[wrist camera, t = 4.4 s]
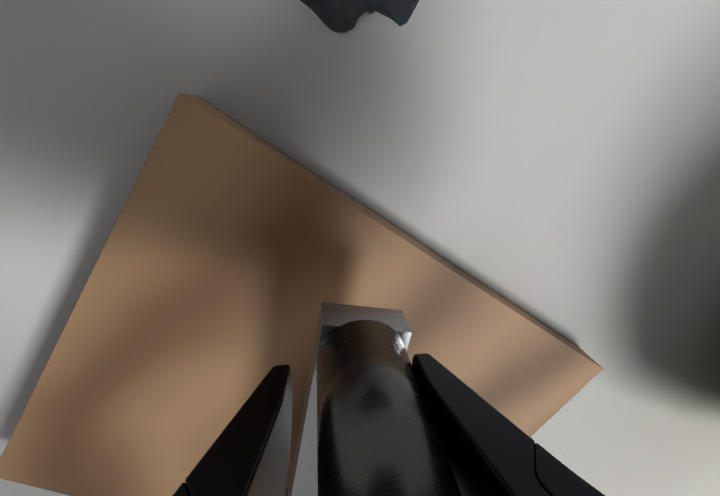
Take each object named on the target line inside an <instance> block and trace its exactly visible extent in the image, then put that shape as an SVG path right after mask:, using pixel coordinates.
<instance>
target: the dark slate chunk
mask: <svg viewBox="0 0 720 496" xmlns="http://www.w3.org/2000/svg"><path fill="white" fill-rule="evenodd" d="M300 1H302V2H303V3H304V4H306V5H307V6H308V7H309V8H310V9H312V10H313V11H314V13H315V14H316V15H317V16H318V17H319V18H320V19H321V20H322V21H323V23H324V24H325V25H326V26H327V27H329V28H330V29H331V30H332V31H335V32H346V31H349V30H351V29H352V28H353V27H354V26H355V24H356V22H357V20H358V18H359V17H360V16H361V15H362V14H363V13H365V12H369V13H373V12H375V11H377V12H379V13H381V14H383V15H385V16H387V17H389V18H391V19H392V20H394V21H395V22H396V23H397V24H398V25H400V26H401V25H403V24H405V23H407V21H408V20H409V18H410V16H411V14H412V12H413V10H414V9H415V7H416V5H417V3H418V1H419V0H300Z"/></svg>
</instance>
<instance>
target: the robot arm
mask: <svg viewBox="0 0 720 496" xmlns="http://www.w3.org/2000/svg"><path fill="white" fill-rule="evenodd" d="M412 366H413V369H414V372H415V374H416V377H417V380H418V382H419V385H420V387H421V390H422V393H423V395H424V398H425V400H426V403H427V406H428V408H429V411H430V414H431V416H432V419H433V421H434V424H435V427H436V429H437V432H438V434H439V437H440V440H441V442H442V445H443V448H444V450H445V453H446V455H447V458H448V461H449V463H450V466H451V469H452V471H453V474H454V476H455V479H456V482H457V484H458V487H459V489H460V492H461V495H462V496H605V495H604V494H602V493H601V492H599V491H598V490H597V489H595V488H594V487H593V486H591V485H590V484H589V483H587V482H586V481H585V480H583V479H582V478H580V477H579V476H578V475H576V474H575V473H574V472H573V471H571V470H570V469H569V468H568V467H566V466H565V465H564V464H562V463H561V462H560V461H559V460H557V459H556V458H555V457H554V456H552V455H551V454H550V453H549V452H548V451H546V450H545V449H544V448H543V447H541V446H540V445H539V444H538V443H535V442H534V440H533V439H532V438H530V437H529V436H528V435H527V434H526V433H524V432H523V431H522V430H521V429H520V428H518V427H517V426H516V425H515V424H513V423H512V422H511V421H510V420H509V419H507V418H506V417H505V416H504V415H503V414H501V413H500V412H499V411H498V410H497V409H495V408H494V407H493V406H492V405H490V404H489V403H488V402H487V401H486V400H484V399H483V398H482V397H481V396H480V395H478V394H477V393H476V392H475V391H473V390H472V389H471V388H470V387H469V386H467V385H466V384H465V383H464V382H463V381H461V380H460V379H459V378H458V377H457V376H455V375H454V374H453V373H452V372H450V371H449V370H448V369H447V368H446V367H444V366H443V365H442V364H441V363H440V362H438V361H437V360H436V359H435V358H434V357H432V356H431V355H430V354H428V353H422V354H415V355H414V356H413V358H412ZM292 406H293V387H292V378H291V369H290V366H289V365H288V364H286V365H275V366H273V367H272V368H271V370H270V371H269V372H268V374H267V375H266V376H265V377H264V379H263V380H262V381H261V383H260V384H259V385H258V386H257V388H256V389H255V390H254V392H253V393H252V394H251V395H250V397H249V398H248V399H247V401H246V402H245V403H244V404H243V406H242V407H241V408H240V410H239V411H238V412H237V413H236V415H235V416H234V417H233V419H232V420H231V421H230V422H229V424H228V425H227V426H226V428H225V429H224V430H223V431H222V433H221V434H220V435H219V437H218V438H217V439H216V440H215V442H214V443H213V444H212V446H211V447H210V448H209V449H208V451H207V452H206V453H205V455H204V456H203V457H202V458H201V460H200V461H199V462H198V464H197V465H196V466H195V467H194V469H193V470H192V471H191V473H190V474H189V475H188V476H187V478H186V479H185V482H186V483H185V482H183V483H182V484H181V485H180V486H179V488H178V489H177V490H176V492H175V493H174V494H173V495H172V496H284V494H285V488H286V481H287V475H288V469H289V461H290V451H291V430H292Z"/></svg>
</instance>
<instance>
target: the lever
mask: <svg viewBox="0 0 720 496" xmlns="http://www.w3.org/2000/svg"><path fill="white" fill-rule="evenodd" d="M411 334H412V332H411V330H410V327H409V325H408V323H407V321H406V318H405V316H404V314H403V311H402V310H395V309H385V308H376V307H366V306H356V305H347V304H337V303H327V302H322V303H321V308H320V314H319V320H318V325H317V331H316V337H315V343H314V348H313V354H312V360H311V365H310V371H309V377H308V383H307V388H306V394H305V400H304V405H303V411H302V417H301V422H300V428H299V434H298V440H297V445H296V451H295V457H294V462H293V468H292V474H291V480H290V485H289V491H288V496H462V495H461V492H460V489H459V487H458V484H457V482H456V479H455V476H454V474H453V471H452V469H451V466H450V463H449V461H448V458H447V455H446V453H445V450H444V448H443V445H442V442H441V440H440V437H439V434H438V432H437V429H436V427H435V424H434V421H433V419H432V416H431V414H430V411H429V408H428V406H427V403H426V400H425V398H424V395H423V393H422V390H421V387H420V385H419V382H418V380H417V377H416V374H415V372H414V369H413V366H412V364H411V361H410V359H409V356H408V353H407V348H408V344H409V341H410V337H411Z"/></svg>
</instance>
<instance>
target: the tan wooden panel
mask: <svg viewBox="0 0 720 496" xmlns="http://www.w3.org/2000/svg"><path fill="white" fill-rule="evenodd" d="M322 302H327V303H337V304H347V305H356V306H366V307H376V308H385V309H395V310H402V311H403V314H404V316H405V318H406V321H407V323H408V325H409V327H410V330H411V332H412V334H411V337H410V341H409V344H408V348H407V353H408V356H409V359H410V361H411V364H412V358H413V356H414V355H415V354H422V353H428V354H430V355H431V356H432V357H434V358H435V359H436V360H437V361H438V362H440V363H441V364H442V365H443V366H444V367H446V368H447V369H448V370H449V371H450V372H452V373H453V374H454V375H455V376H457V377H458V378H459V379H460V380H461V381H463V382H464V383H465V384H466V385H467V386H469V387H470V388H471V389H472V390H473V391H475V392H476V393H477V394H478V395H480V396H481V397H482V398H483V399H484V400H486V401H487V402H488V403H489V404H490V405H492V406H493V407H494V408H495V409H497V410H498V411H499V412H500V413H501V414H503V415H504V416H505V417H506V418H507V419H509V420H510V421H511V422H512V423H513V424H515V425H516V426H517V427H518V428H520V429H521V430H522V431H523V432H524V433H526V434H527V435H528V436H529V437H531V436H532V435H533V434H534V433H535V432H536V431H537V430H538V429H539V428H540V427H541V426H542V425H544V424H545V423H546V422H547V421H548V420H549V419H550V418H551V417H552V416H553V415H554V414H555V413H556V412H557V411H559V410H560V409H561V408H562V407H563V406H564V405H565V404H566V403H567V402H568V401H569V400H570V399H571V398H572V397H574V396H575V395H576V394H577V393H578V392H579V391H580V390H581V389H582V388H583V387H584V386H585V385H586V384H587V383H589V382H590V381H591V380H592V379H593V378H594V377H595V376H596V375H597V374H598V373H599V372H600V371H601V370H602V369H603V368H602V367H601V366H599V365H598V364H597V363H596V362H595V361H594V360H593V359H592V358H591V357H589V356H588V355H587V354H586V353H585V352H584V351H583V350H582V349H580V348H579V347H577V346H576V345H574V344H573V343H571V342H570V341H568V340H567V339H565V338H564V337H562V336H561V335H559V334H558V333H556V332H555V331H553V330H552V329H550V328H548V327H547V326H545V325H544V324H542V323H541V322H539V321H538V320H536V319H535V318H533V317H532V316H530V315H529V314H527V313H526V312H524V311H523V310H521V309H520V308H518V307H517V306H515V305H514V304H512V303H511V302H509V301H507V300H506V299H504V298H503V297H501V296H500V295H498V294H497V293H495V292H494V291H492V290H491V289H489V288H488V287H486V286H485V285H483V284H482V283H480V282H479V281H477V280H476V279H474V278H473V277H471V276H470V275H468V274H466V273H465V272H463V271H462V270H460V269H459V268H457V267H456V266H454V265H453V264H451V263H450V262H448V261H447V260H445V259H444V258H442V257H441V256H439V255H438V254H436V253H435V252H433V251H432V250H430V249H429V248H427V247H425V246H424V245H422V244H421V243H419V242H418V241H416V240H415V239H413V238H412V237H410V236H409V235H407V234H406V233H404V232H403V231H401V230H400V229H398V228H397V227H395V226H394V225H392V224H391V223H389V222H388V221H386V220H384V219H383V218H381V217H380V216H378V215H377V214H375V213H374V212H372V211H371V210H369V209H368V208H366V207H365V206H363V205H362V204H360V203H359V202H357V201H356V200H354V199H353V198H351V197H350V196H348V195H347V194H345V193H343V192H342V191H340V190H339V189H337V188H336V187H334V186H333V185H331V184H330V183H328V182H327V181H325V180H324V179H322V178H321V177H319V176H318V175H316V174H315V173H313V172H312V171H310V170H309V169H307V168H305V167H304V166H302V165H301V164H299V163H298V162H296V161H295V160H293V159H292V158H290V157H289V156H287V155H286V154H284V153H283V152H281V151H280V150H278V149H277V148H275V147H274V146H272V145H271V144H269V143H268V142H266V141H264V140H263V139H261V138H260V137H258V136H257V135H255V134H254V133H252V132H251V131H249V130H248V129H246V128H245V127H243V126H242V125H240V124H239V123H237V122H236V121H234V120H233V119H231V118H230V117H228V116H227V115H225V114H223V113H222V112H220V111H219V110H217V109H216V108H214V107H213V106H211V105H210V104H208V103H207V102H205V101H204V100H202V99H201V98H199V97H198V96H196V95H189V94H181V93H179V95H178V97H177V99H176V101H175V103H174V105H173V107H172V109H171V111H170V113H169V115H168V117H167V119H166V121H165V123H164V125H163V127H162V129H161V132H160V134H159V136H158V138H157V140H156V142H155V144H154V146H153V148H152V150H151V152H150V154H149V156H148V158H147V160H146V162H145V164H144V166H143V168H142V170H141V172H140V174H139V176H138V179H137V181H136V183H135V185H134V187H133V189H132V191H131V193H130V195H129V197H128V199H127V201H126V203H125V205H124V207H123V209H122V211H121V213H120V215H119V217H118V219H117V221H116V223H115V226H114V228H113V230H112V232H111V234H110V236H109V238H108V240H107V242H106V244H105V246H104V248H103V250H102V252H101V254H100V256H99V258H98V260H97V262H96V264H95V266H94V268H93V270H92V273H91V275H90V277H89V279H88V281H87V283H86V285H85V287H84V289H83V291H82V293H81V295H80V297H79V299H78V301H77V303H76V305H75V307H74V309H73V311H72V313H71V315H70V318H69V320H68V322H67V324H66V326H65V328H64V330H63V332H62V334H61V336H60V338H59V340H58V342H57V344H56V346H55V348H54V350H53V352H52V354H51V356H50V358H49V360H48V362H47V365H46V367H45V369H44V371H43V373H42V375H41V377H40V379H39V381H38V383H37V385H36V387H35V389H34V391H33V393H32V395H31V397H30V399H29V401H28V403H27V405H26V407H25V409H24V412H23V414H22V416H21V418H20V420H19V422H18V424H17V426H16V428H15V430H14V432H13V434H12V436H11V438H10V440H9V442H8V444H7V446H6V448H5V450H4V452H3V454H2V456H1V459H0V478H1V479H5V480H9V481H14V482H18V483H22V484H26V485H30V486H34V487H38V488H42V489H46V490H50V491H54V492H58V493H62V494H67V495H71V496H172V495H173V494H174V493H175V492H176V490H177V489H178V488H179V486H180V485H181V484H182V483H183V482H185V479H186V478H187V476H188V475H189V474H190V473H191V471H192V470H193V469H194V467H195V466H196V465H197V464H198V462H199V461H200V460H201V458H202V457H203V456H204V455H205V453H206V452H207V451H208V449H209V448H210V447H211V446H212V444H213V443H214V442H215V440H216V439H217V438H218V437H219V435H220V434H221V433H222V431H223V430H224V429H225V428H226V426H227V425H228V424H229V422H230V421H231V420H232V419H233V417H234V416H235V415H236V413H237V412H238V411H239V410H240V408H241V407H242V406H243V404H244V403H245V402H246V401H247V399H248V398H249V397H250V395H251V394H252V393H253V392H254V390H255V389H256V388H257V386H258V385H259V384H260V383H261V381H262V380H263V379H264V377H265V376H266V375H267V374H268V372H269V371H270V370H271V368H272V367H273V366H275V365H286V364H288V365H289V366H290V369H291V378H292V387H293V406H292V430H291V451H290V461H289V469H288V475H287V481H286V488H285V494H284V496H288V491H289V485H290V480H291V474H292V468H293V462H294V457H295V451H296V445H297V440H298V434H299V428H300V422H301V417H302V411H303V405H304V400H305V394H306V388H307V383H308V377H309V371H310V365H311V360H312V354H313V348H314V343H315V337H316V331H317V325H318V320H319V314H320V308H321V303H322ZM185 483H186V482H185Z"/></svg>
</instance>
